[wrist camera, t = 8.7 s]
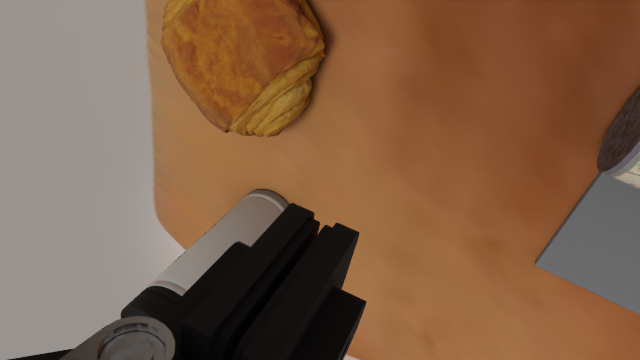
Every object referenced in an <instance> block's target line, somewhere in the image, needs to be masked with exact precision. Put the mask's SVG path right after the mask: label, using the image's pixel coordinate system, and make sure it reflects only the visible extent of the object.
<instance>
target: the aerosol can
mask: <svg viewBox="0 0 640 360" xmlns="http://www.w3.org/2000/svg"><path fill="white" fill-rule="evenodd" d="M597 167H598V170H600V171H601V172H603V173H605V174H609V175H611V176H612V177H614V178H616V179H618V180H620V181H622V182H625V183H627V184H629V185H631V186H633V187H636V188H638V189H640V89H639V90H638V91H637V92H636V93H635V95H634V96H633V97H632V98H631V99H630V100H629V101H628V103H627V104H626V105H625V106H624V108H623V109H622V110H621V112H620V113H619V115H618V116H617V118H616V119H615V121H614V122H613V124H612V126H611V127H610V129H609V131H608V133H607V135H606V137H605V139H604V141H603V143H602V146H601V148H600V151H599V154H598V159H597Z"/></svg>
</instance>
